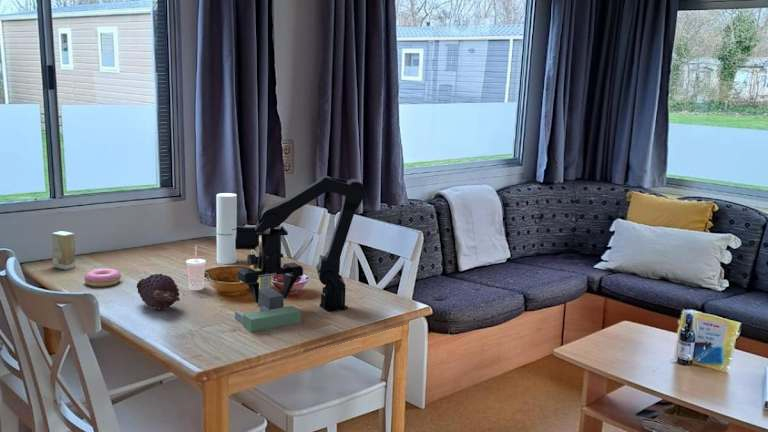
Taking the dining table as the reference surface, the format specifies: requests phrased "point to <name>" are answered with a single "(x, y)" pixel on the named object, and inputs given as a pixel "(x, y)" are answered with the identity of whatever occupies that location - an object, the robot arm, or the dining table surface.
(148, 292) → the pine cone
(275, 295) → the slate gray cuboid
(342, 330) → the dining table surface
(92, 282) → the doughnut
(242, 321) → the green and blue-gray block
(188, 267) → the beverage cup
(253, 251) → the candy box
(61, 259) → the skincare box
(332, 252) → the robot arm
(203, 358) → the dining table surface
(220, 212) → the cylindrical container
